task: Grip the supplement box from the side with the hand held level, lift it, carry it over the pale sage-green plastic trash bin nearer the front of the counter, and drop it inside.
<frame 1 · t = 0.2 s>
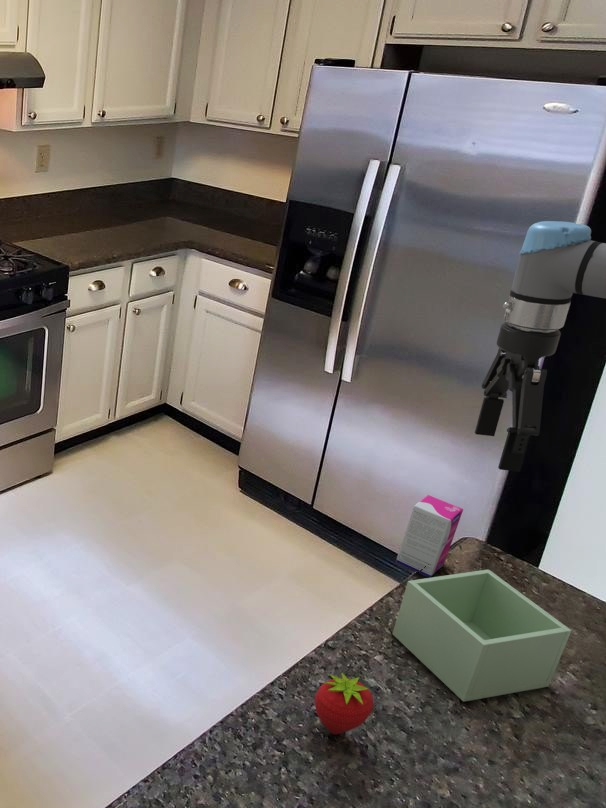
hand: (496, 451, 129), 20 cm above the countertop, tool pointing down, fingers open, 13 cm apart
strawberry: (334, 734, 102), on the countertop
trash bin: (467, 659, 114), on the countertop
supplement box: (419, 565, 134), on the countertop
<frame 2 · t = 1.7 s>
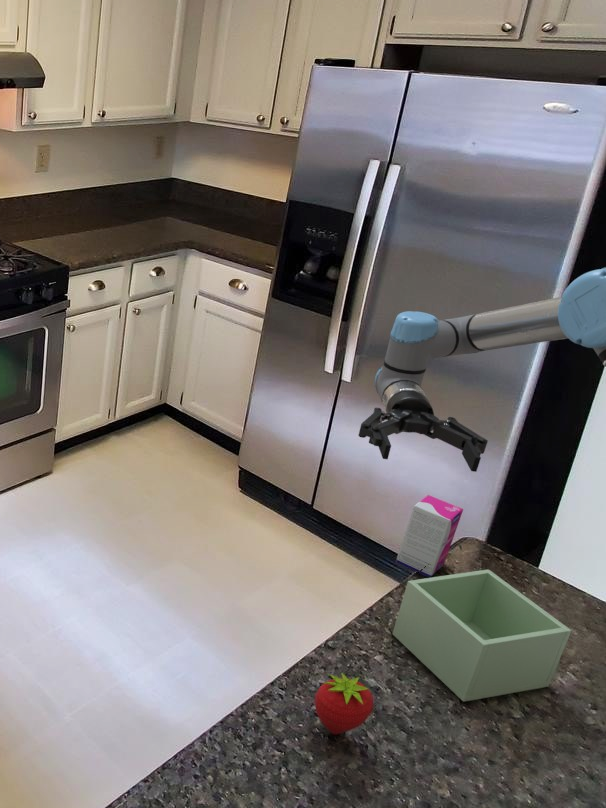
hand: (430, 458, 136), 15 cm above the countertop, tool horizontal, fingers open, 13 cm apart
nothing on the countertop moved.
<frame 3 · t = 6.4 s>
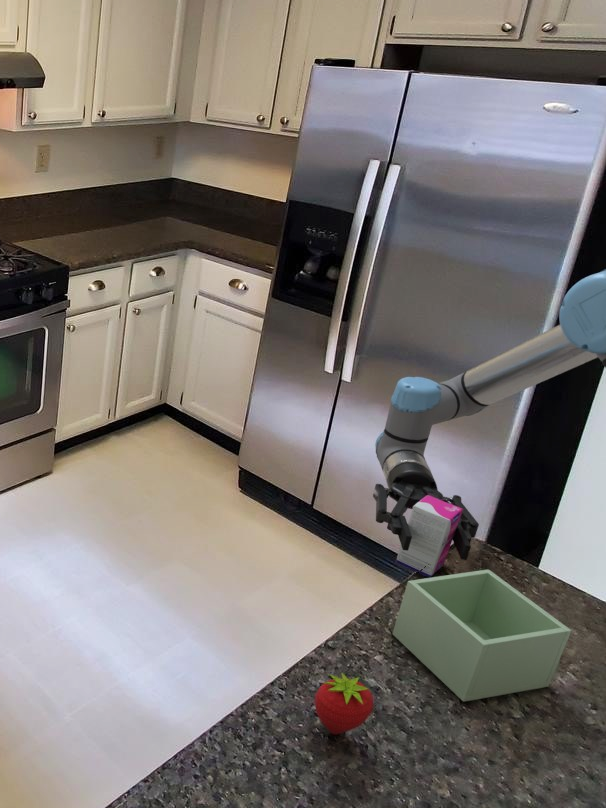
hand: (436, 548, 127), 7 cm above the countertop, tool horizontal, fingers closed on supplement box, 8 cm apart
supplement box: (419, 565, 134), on the countertop, touching gripper
everything else where it was.
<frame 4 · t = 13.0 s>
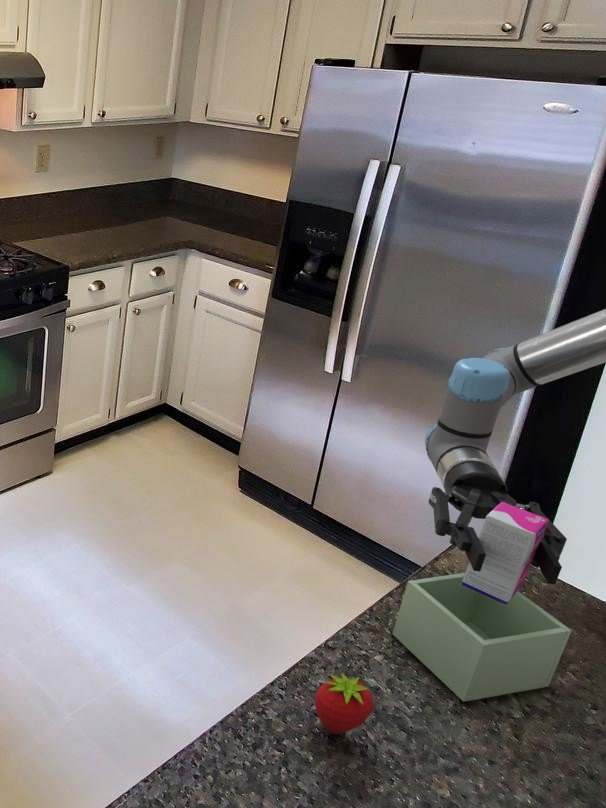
hand: (516, 568, 102), 19 cm above the countertop, tool horizontal, fingers closed on supplement box, 8 cm apart
supplement box: (491, 588, 109), point 13 cm above the countertop, touching gripper
everything else where it was.
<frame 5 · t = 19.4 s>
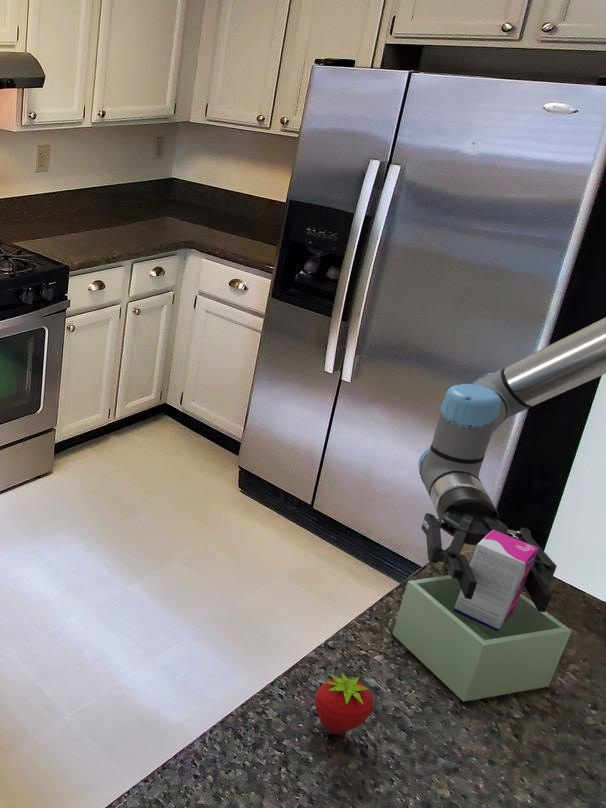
hand: (507, 596, 103), 15 cm above the countertop, tool horizontal, fingers closed on supplement box, 8 cm apart
supplement box: (482, 614, 110), point 8 cm above the countertop, touching gripper
everything else where it was.
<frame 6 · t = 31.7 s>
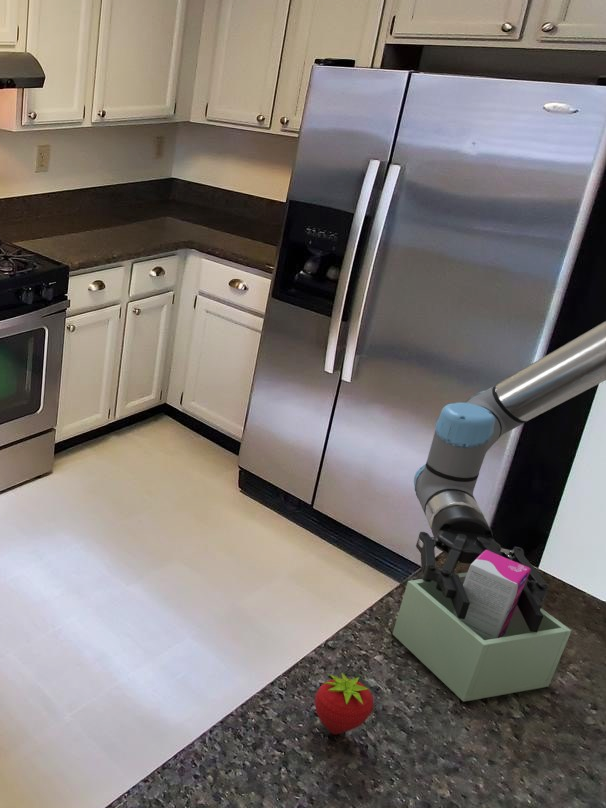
hand: (500, 617, 105), 11 cm above the countertop, tool horizontal, fingers closed on supplement box, 8 cm apart
supplement box: (476, 633, 112), point 5 cm above the countertop, touching gripper
everything else where it was.
when the fingers open (15 cm above the countertop, at t = 32.8 s): supplement box drops 7 cm, resting on trash bin.
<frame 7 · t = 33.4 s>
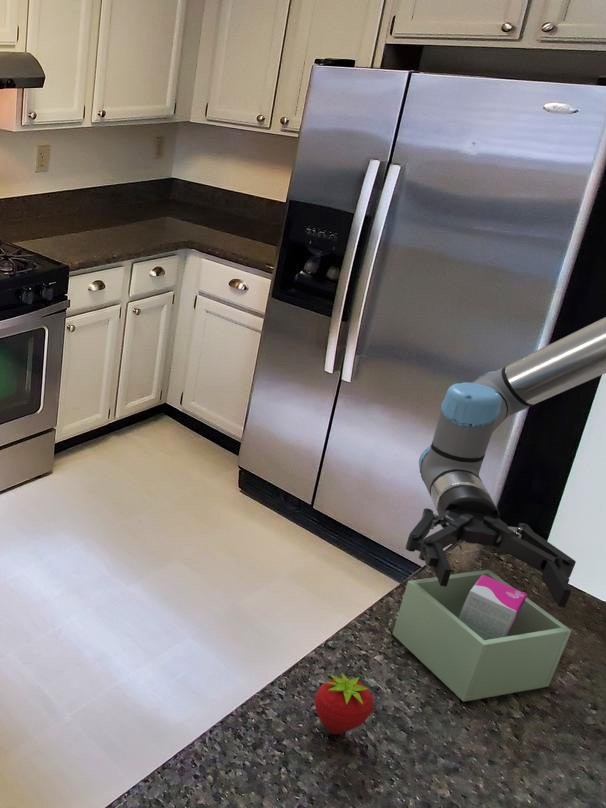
hand: (504, 588, 105), 15 cm above the countertop, tool horizontal, fingers open, 13 cm apart
supplement box: (470, 656, 113), point 1 cm above the countertop, touching trash bin
everything else where it was.
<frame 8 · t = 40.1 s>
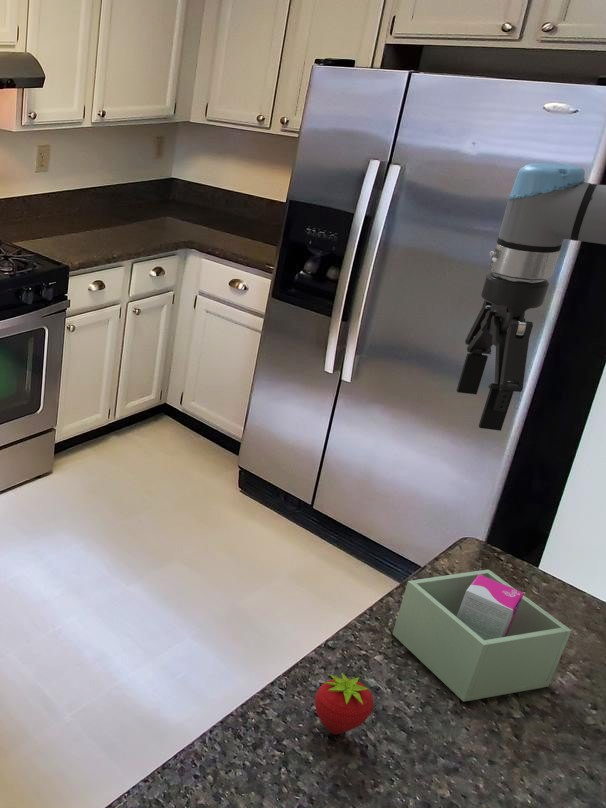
hand: (477, 409, 123), 29 cm above the countertop, tool pointing down, fingers open, 13 cm apart
nothing on the countertop moved.
at the end: supplement box inside the target area in the trash bin (0.3 cm from its centre), point 0.6 cm above the trash bin's base; the gripper is holding nothing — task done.
